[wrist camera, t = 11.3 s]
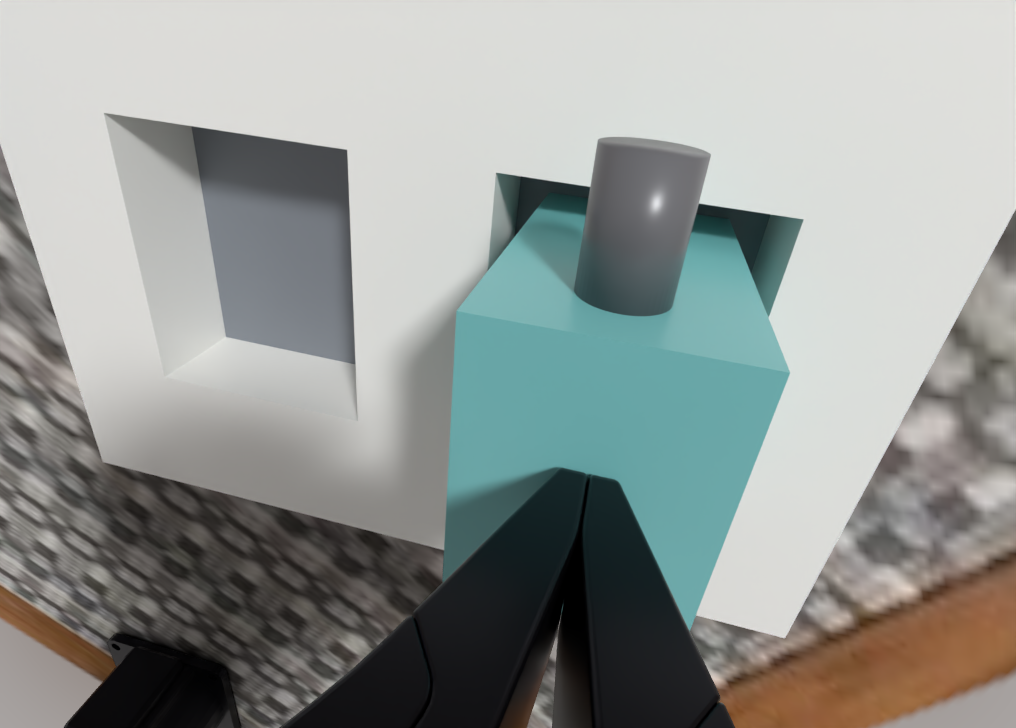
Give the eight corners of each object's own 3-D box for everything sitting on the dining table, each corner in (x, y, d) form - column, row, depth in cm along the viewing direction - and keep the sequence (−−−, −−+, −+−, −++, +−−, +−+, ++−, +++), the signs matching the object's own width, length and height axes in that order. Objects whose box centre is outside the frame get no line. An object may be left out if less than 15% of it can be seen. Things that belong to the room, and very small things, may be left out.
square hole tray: (763, 537, 18) (784, 638, 15) (184, 402, 21) (103, 461, 18) (1006, -4, 11) (1141, -24, 8) (76, -90, 14) (-87, -128, 11)
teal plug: (675, 408, 15) (683, 644, 9) (526, 378, 16) (442, 581, 10) (757, 120, 12) (858, 197, 6) (561, 97, 12) (465, 141, 6)
